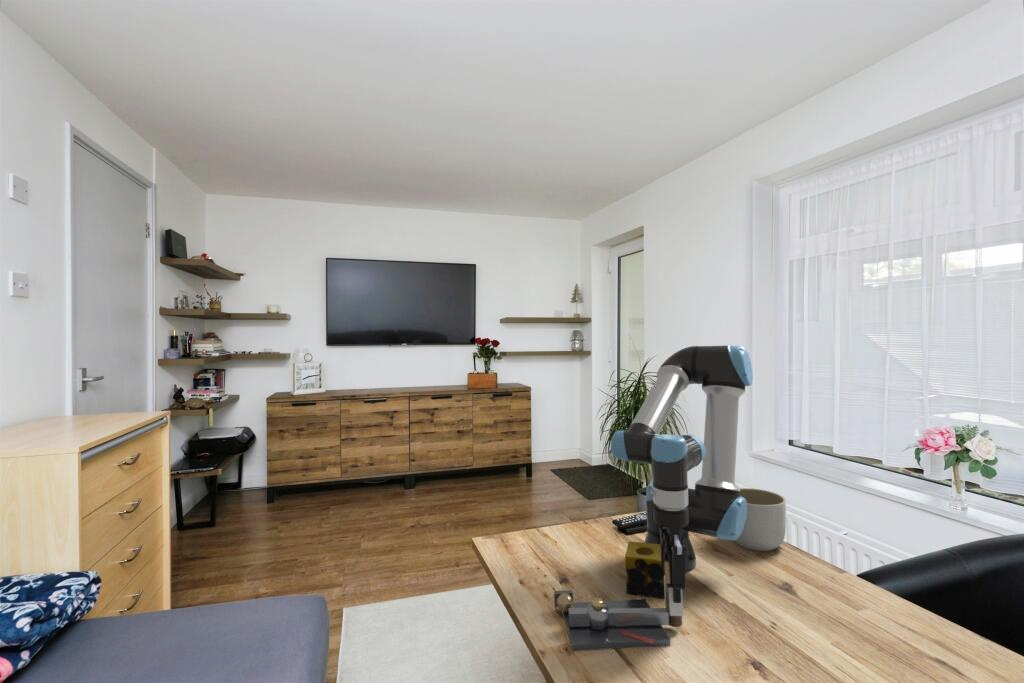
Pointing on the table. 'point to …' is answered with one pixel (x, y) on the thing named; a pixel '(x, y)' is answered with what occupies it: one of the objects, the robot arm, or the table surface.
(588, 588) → the table surface
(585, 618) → the lever
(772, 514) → the planter
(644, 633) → the base
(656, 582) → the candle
